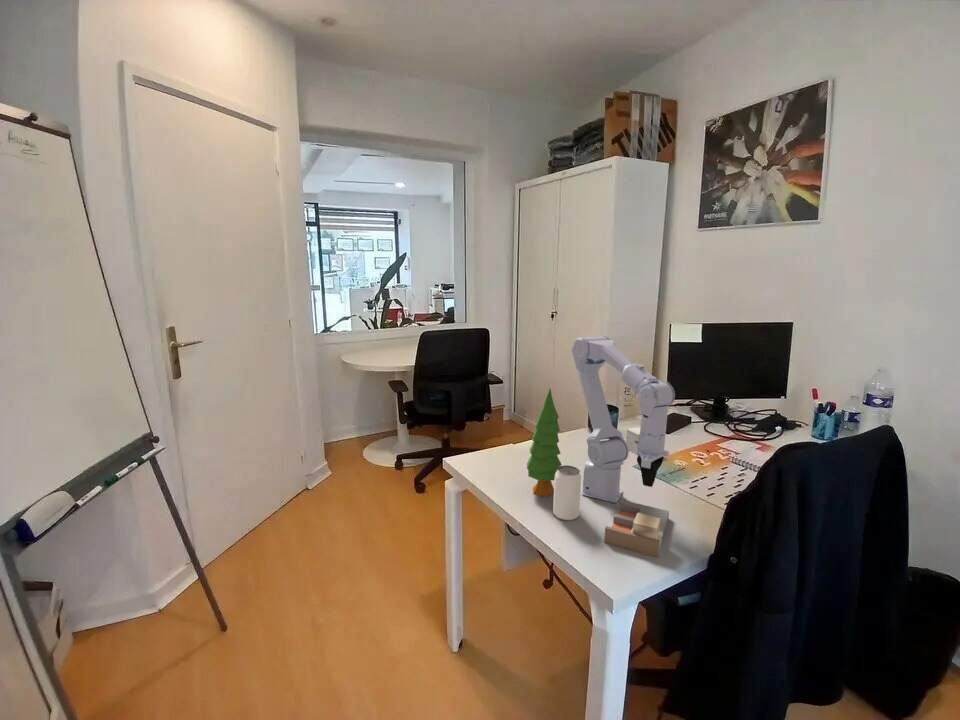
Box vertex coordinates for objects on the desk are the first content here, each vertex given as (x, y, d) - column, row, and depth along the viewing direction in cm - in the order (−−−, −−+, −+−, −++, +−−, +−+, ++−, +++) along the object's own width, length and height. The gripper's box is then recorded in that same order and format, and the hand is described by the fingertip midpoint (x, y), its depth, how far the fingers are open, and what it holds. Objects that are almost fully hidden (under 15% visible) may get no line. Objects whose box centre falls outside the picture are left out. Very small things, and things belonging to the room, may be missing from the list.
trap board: (604, 542, 107) (605, 528, 106) (621, 506, 123) (622, 494, 122) (657, 557, 102) (658, 542, 101) (668, 518, 118) (669, 505, 117)
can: (575, 508, 122) (578, 464, 120) (581, 521, 116) (584, 475, 113) (550, 508, 122) (552, 464, 119) (555, 521, 115) (557, 475, 113)
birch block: (631, 539, 105) (633, 522, 104) (636, 528, 109) (637, 512, 108) (655, 545, 102) (657, 528, 102) (658, 534, 107) (660, 518, 106)
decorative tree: (550, 502, 125) (555, 393, 119) (518, 493, 129) (521, 387, 124) (563, 488, 133) (569, 385, 127) (533, 480, 138) (537, 380, 132)
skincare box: (624, 448, 163) (626, 428, 162) (638, 446, 166) (640, 426, 164) (636, 455, 158) (638, 434, 156) (651, 452, 160) (652, 432, 159)
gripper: (666, 444, 104) (661, 501, 106) (674, 426, 116) (669, 477, 119) (633, 439, 107) (629, 494, 110) (644, 421, 120) (640, 471, 122)
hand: (648, 485), depth 115 cm, fingers closed
